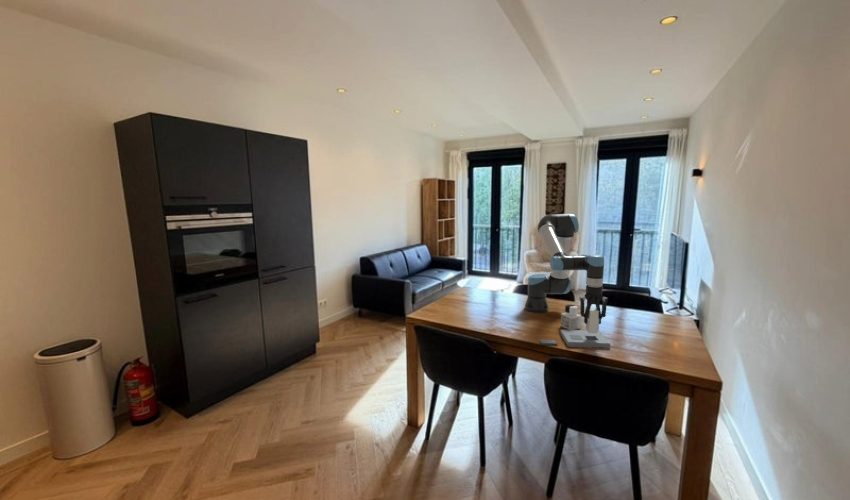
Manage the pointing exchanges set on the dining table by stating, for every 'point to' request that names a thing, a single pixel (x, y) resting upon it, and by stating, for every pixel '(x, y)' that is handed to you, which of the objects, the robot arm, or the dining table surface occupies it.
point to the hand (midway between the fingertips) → (592, 329)
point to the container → (571, 318)
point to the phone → (548, 342)
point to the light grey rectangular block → (593, 320)
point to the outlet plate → (584, 339)
